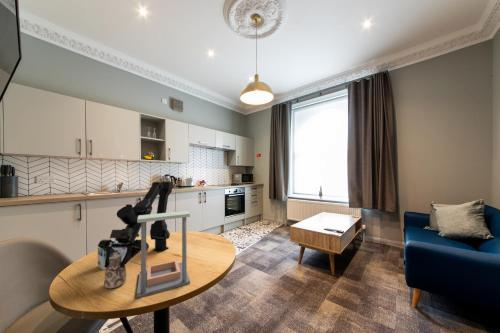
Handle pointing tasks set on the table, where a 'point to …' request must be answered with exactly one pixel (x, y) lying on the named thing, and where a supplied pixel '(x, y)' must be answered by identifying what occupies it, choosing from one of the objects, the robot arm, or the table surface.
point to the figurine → (115, 271)
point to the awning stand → (163, 273)
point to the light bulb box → (103, 255)
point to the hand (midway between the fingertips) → (113, 267)
